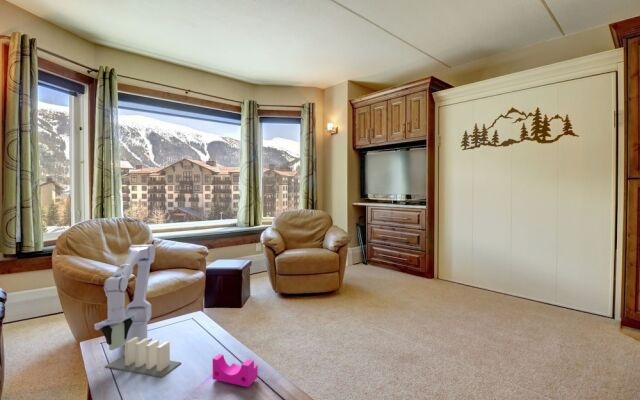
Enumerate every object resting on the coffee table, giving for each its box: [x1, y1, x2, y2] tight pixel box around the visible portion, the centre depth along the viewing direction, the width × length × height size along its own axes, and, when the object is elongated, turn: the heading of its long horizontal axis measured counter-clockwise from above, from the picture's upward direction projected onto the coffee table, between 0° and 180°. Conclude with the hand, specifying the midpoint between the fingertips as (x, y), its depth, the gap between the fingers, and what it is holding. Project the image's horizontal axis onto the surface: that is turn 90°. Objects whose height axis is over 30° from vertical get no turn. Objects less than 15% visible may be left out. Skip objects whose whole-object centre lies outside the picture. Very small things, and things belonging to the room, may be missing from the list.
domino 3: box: [146, 339, 160, 369], centre depth 124 cm, size 2×5×9 cm, turn 164°
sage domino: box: [108, 322, 125, 351], centre depth 126 cm, size 2×5×9 cm, turn 147°
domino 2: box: [135, 338, 150, 368], centre depth 125 cm, size 2×5×9 cm, turn 164°
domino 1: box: [124, 337, 139, 366], centre depth 127 cm, size 2×5×9 cm, turn 165°
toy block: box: [212, 353, 259, 388], centre depth 116 cm, size 15×6×8 cm, turn 71°
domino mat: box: [104, 354, 182, 378], centre depth 125 cm, size 27×10×1 cm, turn 75°
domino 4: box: [156, 341, 171, 371], centre depth 123 cm, size 2×5×9 cm, turn 164°
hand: (116, 341), depth 126 cm, fingers closed on sage domino, 5 cm apart
